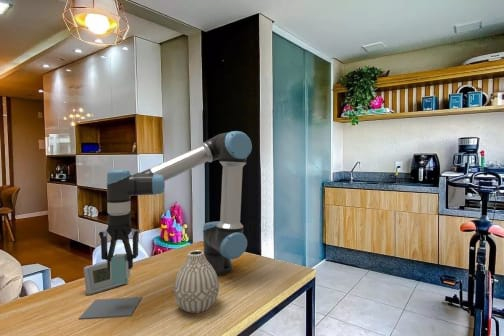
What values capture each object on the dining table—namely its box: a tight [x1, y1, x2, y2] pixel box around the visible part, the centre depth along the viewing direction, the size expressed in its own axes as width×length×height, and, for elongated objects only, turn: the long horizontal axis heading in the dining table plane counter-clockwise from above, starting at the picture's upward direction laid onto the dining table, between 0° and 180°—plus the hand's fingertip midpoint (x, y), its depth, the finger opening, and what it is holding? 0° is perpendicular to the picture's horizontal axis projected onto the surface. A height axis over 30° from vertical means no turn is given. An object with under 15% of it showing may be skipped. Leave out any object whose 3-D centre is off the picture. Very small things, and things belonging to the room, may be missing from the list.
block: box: [111, 253, 130, 283], centre depth 107 cm, size 4×4×9 cm
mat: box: [78, 296, 143, 320], centre depth 107 cm, size 17×13×1 cm
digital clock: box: [83, 260, 129, 296], centre depth 124 cm, size 16×9×11 cm, turn 122°
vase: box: [173, 249, 220, 314], centre depth 106 cm, size 16×16×20 cm
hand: (120, 277), depth 107 cm, fingers closed on block, 4 cm apart
